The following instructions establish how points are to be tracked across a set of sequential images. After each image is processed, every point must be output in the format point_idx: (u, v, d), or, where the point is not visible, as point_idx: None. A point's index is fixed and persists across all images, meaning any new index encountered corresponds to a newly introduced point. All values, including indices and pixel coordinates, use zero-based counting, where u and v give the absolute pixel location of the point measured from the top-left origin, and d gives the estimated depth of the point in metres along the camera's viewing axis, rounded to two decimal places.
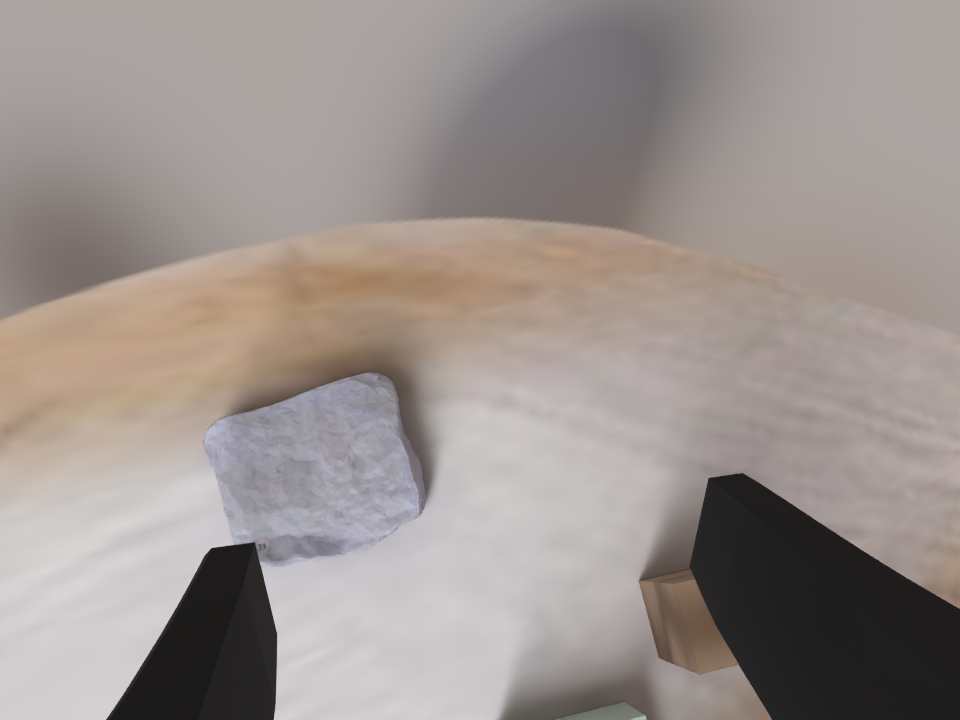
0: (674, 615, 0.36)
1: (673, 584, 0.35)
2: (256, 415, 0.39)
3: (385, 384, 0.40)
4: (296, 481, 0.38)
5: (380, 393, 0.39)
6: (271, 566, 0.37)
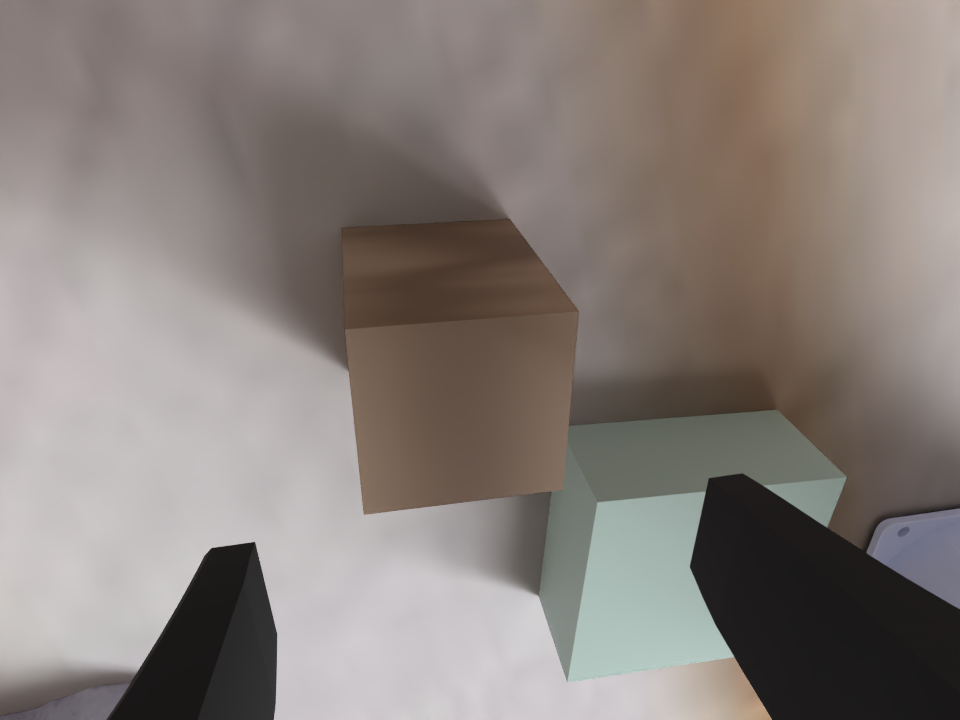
0: None
1: None
2: None
3: None
4: None
5: None
6: None
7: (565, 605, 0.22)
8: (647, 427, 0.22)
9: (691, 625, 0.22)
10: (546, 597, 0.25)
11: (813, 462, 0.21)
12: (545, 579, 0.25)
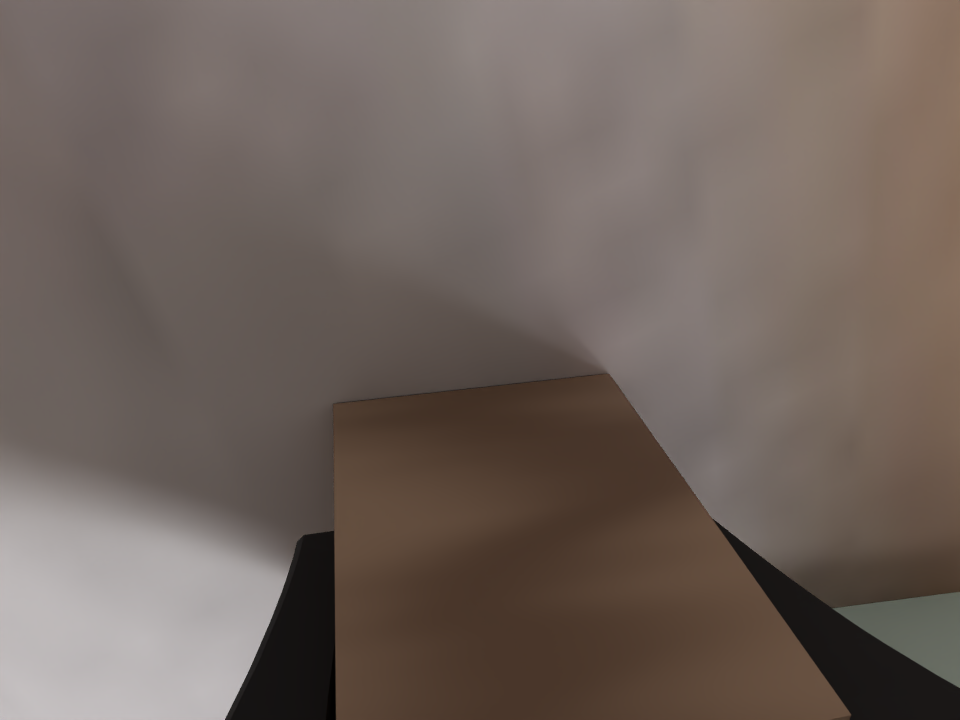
0: None
1: None
2: None
3: None
4: None
5: None
6: None
7: None
8: None
9: None
10: None
11: None
12: None
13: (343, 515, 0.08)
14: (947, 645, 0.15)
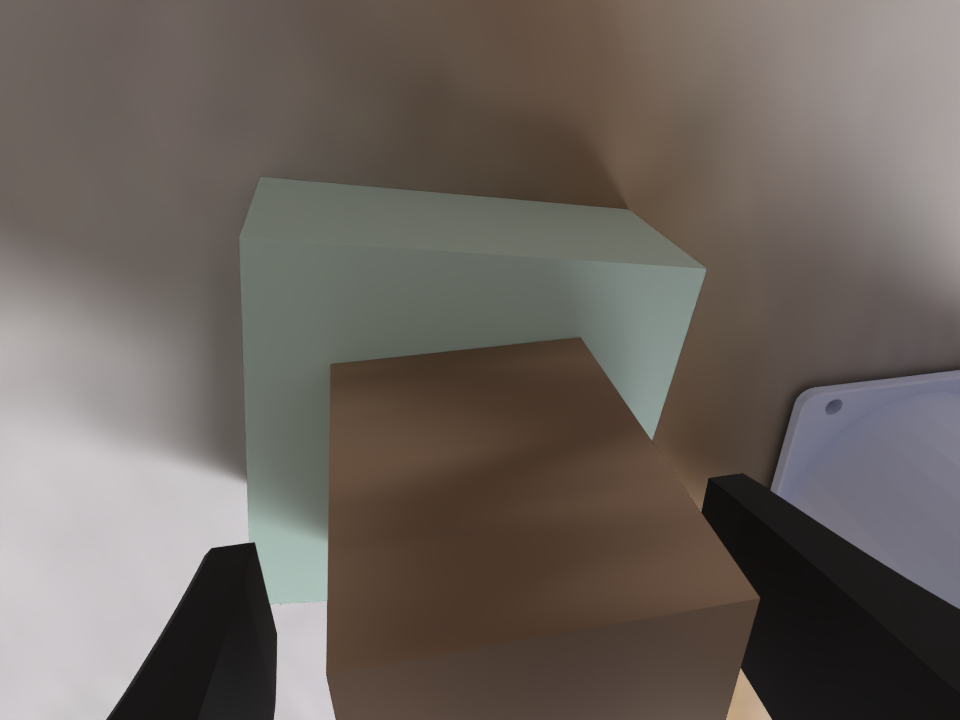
0: None
1: None
2: None
3: None
4: None
5: None
6: None
7: None
8: (409, 194, 0.14)
9: None
10: None
11: (658, 251, 0.13)
12: None
13: (337, 452, 0.09)
14: (574, 220, 0.14)
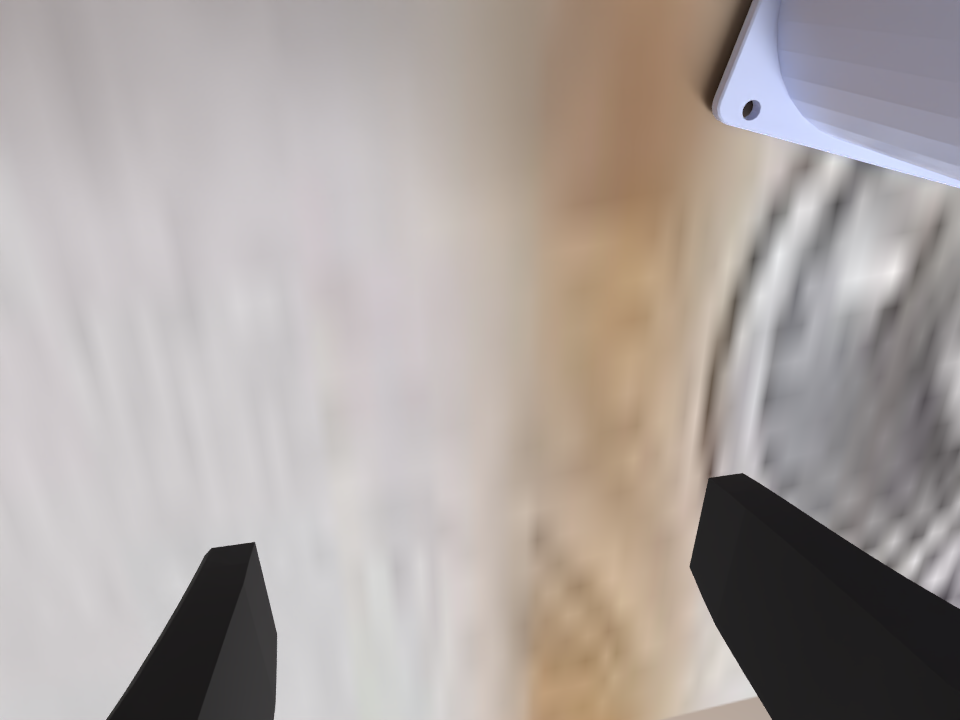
0: None
1: None
2: None
3: None
4: None
5: None
6: None
7: None
8: None
9: None
10: None
11: None
12: None
13: None
14: None
